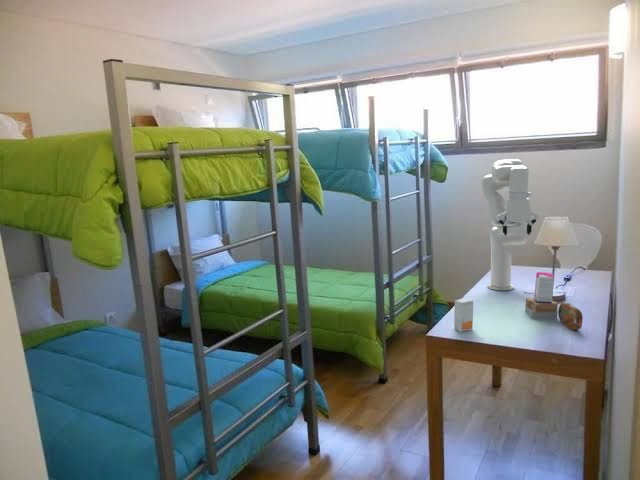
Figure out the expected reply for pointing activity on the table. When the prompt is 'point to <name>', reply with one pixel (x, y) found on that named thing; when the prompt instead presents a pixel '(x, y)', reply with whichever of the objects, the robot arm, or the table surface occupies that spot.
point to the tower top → (541, 306)
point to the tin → (570, 316)
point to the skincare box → (463, 314)
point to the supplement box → (544, 287)
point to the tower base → (540, 314)
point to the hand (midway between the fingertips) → (516, 234)
